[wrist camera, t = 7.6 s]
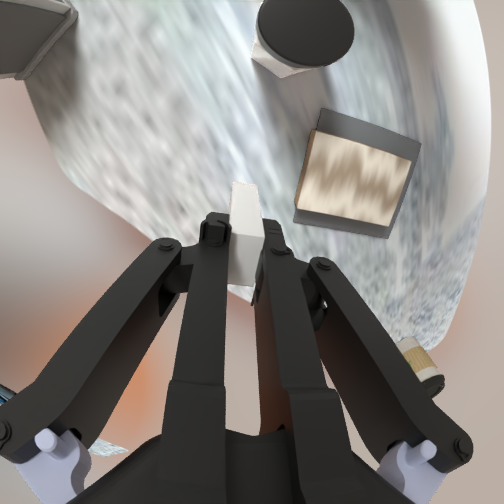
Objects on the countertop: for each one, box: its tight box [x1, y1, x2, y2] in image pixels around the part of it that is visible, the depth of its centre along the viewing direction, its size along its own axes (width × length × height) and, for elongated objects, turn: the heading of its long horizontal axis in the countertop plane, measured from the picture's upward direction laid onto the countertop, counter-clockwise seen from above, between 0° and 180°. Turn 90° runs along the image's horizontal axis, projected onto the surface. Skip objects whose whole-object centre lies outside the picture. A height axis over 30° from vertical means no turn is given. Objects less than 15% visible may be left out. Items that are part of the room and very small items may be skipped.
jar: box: [250, 0, 354, 78], centre depth 21 cm, size 9×8×12 cm
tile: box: [294, 129, 411, 226], centre depth 34 cm, size 10×2×14 cm
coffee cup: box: [396, 337, 445, 398], centre depth 50 cm, size 10×10×15 cm
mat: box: [293, 108, 421, 239], centre depth 36 cm, size 16×16×1 cm
